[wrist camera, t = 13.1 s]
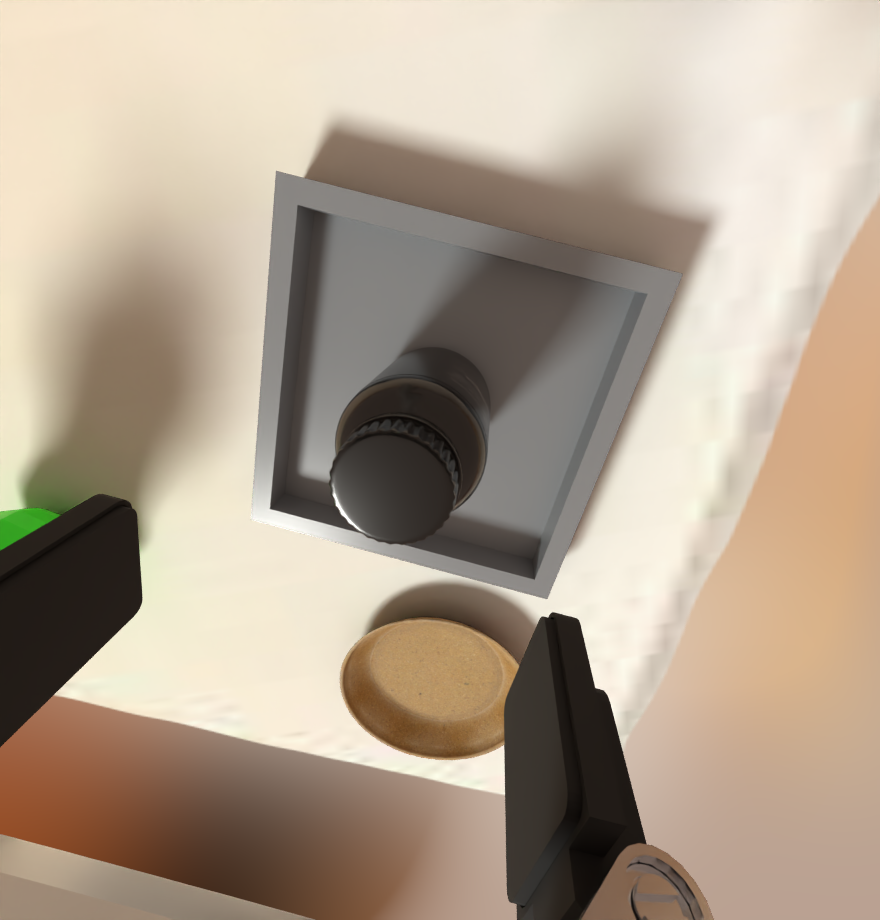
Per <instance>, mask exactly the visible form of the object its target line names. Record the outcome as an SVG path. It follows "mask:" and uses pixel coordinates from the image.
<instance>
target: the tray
mask: <svg viewBox="0 0 880 920" xmlns="http://www.w3.org/2000/svg"><path fill="white" fill-rule="evenodd" d="M682 275H683V274H682V273H678V272H674V271H670V270H666V269H662V268H658V267H654V266H650V265H646V264H642V263H639V262H635V261H631V260H627V259H623V258H619V257H615V256H611V255H607V254H603V253H599V252H595V251H591V250H587V249H583V248H579V247H575V246H571V245H567V244H563V243H559V242H555V241H551V240H548V239H544V238H540V237H536V236H532V235H528V234H524V233H520V232H516V231H512V230H508V229H504V228H500V227H496V226H492V225H488V224H484V223H480V222H476V221H472V220H468V219H464V218H460V217H457V216H453V215H449V214H445V213H441V212H437V211H433V210H429V209H425V208H421V207H417V206H413V205H409V204H405V203H401V202H397V201H393V200H389V199H385V198H381V197H377V196H373V195H369V194H366V193H362V192H358V191H354V190H350V189H346V188H342V187H338V186H334V185H330V184H326V183H322V182H318V181H314V180H310V179H306V178H302V177H298V176H294V175H290V174H286V173H282V172H278V171H276V179H275V193H274V207H273V221H272V234H271V248H270V262H269V276H268V290H267V303H266V317H265V331H264V345H263V359H262V372H261V386H260V400H259V414H258V428H257V441H256V455H255V469H254V483H253V497H252V510H251V520H253V521H257V522H261V523H265V524H268V525H272V526H276V527H279V528H283V529H287V530H291V531H294V532H298V533H302V534H306V535H309V536H313V537H317V538H321V539H324V540H328V541H332V542H335V543H339V544H343V545H347V546H350V547H354V548H358V549H362V550H365V551H369V552H373V553H377V554H380V555H384V556H388V557H391V558H395V559H399V560H403V561H406V562H410V563H414V564H418V565H421V566H425V567H429V568H433V569H436V570H440V571H444V572H447V573H451V574H455V575H459V576H462V577H466V578H470V579H474V580H477V581H481V582H485V583H489V584H492V585H496V586H500V587H503V588H507V589H511V590H515V591H518V592H522V593H526V594H530V595H533V596H537V597H541V598H545V599H547V598H548V596H549V593H550V591H551V589H552V586H553V584H554V582H555V579H556V577H557V574H558V572H559V570H560V567H561V565H562V562H563V560H564V558H565V555H566V553H567V550H568V548H569V546H570V543H571V541H572V538H573V536H574V534H575V531H576V529H577V526H578V524H579V522H580V519H581V517H582V514H583V512H584V510H585V507H586V505H587V503H588V500H589V498H590V495H591V493H592V491H593V488H594V486H595V483H596V481H597V479H598V476H599V474H600V471H601V469H602V467H603V464H604V462H605V459H606V457H607V455H608V452H609V450H610V447H611V445H612V443H613V440H614V438H615V435H616V433H617V431H618V428H619V426H620V424H621V421H622V419H623V416H624V414H625V412H626V409H627V407H628V404H629V402H630V400H631V397H632V395H633V392H634V390H635V388H636V385H637V383H638V380H639V378H640V376H641V373H642V371H643V368H644V366H645V364H646V361H647V359H648V356H649V354H650V352H651V349H652V347H653V345H654V342H655V340H656V337H657V335H658V333H659V330H660V328H661V325H662V323H663V321H664V318H665V316H666V313H667V311H668V309H669V306H670V304H671V301H672V299H673V297H674V294H675V292H676V289H677V287H678V285H679V282H680V280H681V277H682ZM425 347H440V348H445V349H449V350H452V351H455V352H457V353H459V354H461V355H462V356H464V357H466V358H467V359H468V360H470V361H471V362H472V363H473V364H474V365H475V366H476V367H477V368H478V370H479V371H480V372H481V374H482V376H483V377H484V379H485V381H486V384H487V387H488V390H489V394H490V401H491V413H490V427H489V441H488V455H487V462H486V467H485V471H484V474H483V477H482V479H481V482H480V484H479V485H478V487H477V489H476V490H475V492H474V493H473V494H472V496H471V497H470V498H469V499H468V500H467V501H466V502H465V503H464V504H463V505H461V506H460V507H459V508H457V509H456V510H454V511H452V512H451V515H450V517H449V519H448V520H446V521H445V522H444V525H443V527H442V528H440V529H438V530H436V532H435V534H434V535H431V536H427V538H426V539H425V540H420V541H416V542H415V543H413V544H411V543H406V544H404V545H399V544H391V545H390V544H387V543H385V542H377V541H376V540H374V539H370V538H367V537H366V536H364V535H363V534H361V533H359V532H357V531H356V530H355V529H354V527H352V526H350V525H348V524H347V522H346V520H345V519H344V518H343V517H342V516H340V513H339V510H338V509H337V508H336V507H335V506H334V499H333V498H332V496H331V495H330V493H331V488H330V486H329V480H330V474H329V471H330V469H331V468H332V463H333V459H334V458H335V457H336V453H335V436H336V430H337V426H338V423H339V420H340V417H341V415H342V413H343V411H344V410H345V408H346V406H347V405H348V404H349V402H350V401H351V400H352V399H353V397H354V396H355V395H356V394H357V393H358V392H359V391H360V390H362V389H363V388H364V387H365V386H366V385H367V384H369V383H370V382H371V381H372V380H373V379H374V378H375V377H377V376H378V375H379V374H380V373H381V372H382V371H383V370H385V369H386V368H387V367H388V366H389V365H390V364H392V363H393V362H394V361H395V360H397V359H398V358H399V357H401V356H402V355H404V354H406V353H408V352H410V351H413V350H416V349H419V348H425Z"/></svg>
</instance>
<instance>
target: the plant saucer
mask: <svg viewBox="0 0 880 920" xmlns="http://www.w3.org/2000/svg"><path fill="white" fill-rule="evenodd" d="M518 668H519V664H518V663H517V661H516V660H515V659H514V658H513V656H512V655H511V654H510V653H509V652H508V651H507V650H506V649H505V648H503V647H502V646H501V645H500V644H499V643H497V642H496V641H495V640H493V639H492V638H490V637H489V636H488V635H486V634H484V633H482V632H480V631H479V630H477V629H475V628H472V627H470V626H468V625H465V624H462V623H459V622H456V621H452V620H448V619H442V618H433V617H419V618H410V619H404V620H399V621H396V622H392V623H389V624H386V625H384V626H382V627H379V628H377V629H375V630H373V631H371V632H370V633H368V634H366V635H365V636H363V637H362V638H361V639H360V640H359V641H357V643H355V645H354V646H353V647H352V648H351V649H350V651H349V652H348V654H347V655H346V657H345V659H344V662H343V664H342V667H341V672H340V688H341V693H342V697H343V699H344V702H345V704H346V707H347V708H348V710H349V712H350V714H351V715H352V717H353V718H354V719H355V720H356V721H357V722H358V724H359V725H360V726H361V727H362V728H363V729H364V730H365V731H367V732H368V733H369V734H370V735H372V736H373V737H375V738H376V739H377V740H379V741H380V742H382V743H384V744H386V745H387V746H390V747H392V748H394V749H396V750H398V751H401V752H403V753H406V754H409V755H414V756H417V757H421V758H428V759H436V760H459V759H467V758H473V757H477V756H481V755H484V754H487V753H489V752H492V751H494V750H496V749H498V748H500V747H501V746H503V745H504V706H505V700H506V697H507V694H508V692H509V689H510V687H511V685H512V682H513V680H514V678H515V675H516V673H517V671H518Z"/></svg>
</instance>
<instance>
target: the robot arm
mask: <svg viewBox="0 0 880 920" xmlns="http://www.w3.org/2000/svg"><path fill="white" fill-rule="evenodd" d="M141 604H142V584H141V569H140V554H139V539H138V524H137V514H136V511H135V510H134V509H132V506H131V504H130V502H129V501H126V500H123V499H119V498H116V497H112V496H108V495H104V494H98V495H95V496H93V497H91V498H90V499H88V500H86V501H84V502H83V503H81V504H79V505H77V506H76V507H74V508H72V509H71V510H69V511H67V512H65V513H64V514H62V515H60V516H59V517H57V518H55V519H53V520H52V521H50V522H48V523H47V524H45V525H43V526H41V527H40V528H38V529H36V530H35V531H33V532H31V533H29V534H28V535H26V536H24V537H23V538H21V539H19V540H17V541H16V542H14V543H12V544H11V545H9V546H7V547H5V548H4V549H2V550H0V747H1V746H2V745H3V744H4V743H5V742H6V741H7V740H8V739H9V738H10V737H11V736H12V735H13V734H14V733H15V732H16V731H17V730H18V729H19V728H20V727H21V726H22V725H23V724H24V723H25V722H26V721H27V720H28V719H29V718H31V716H33V715H34V713H36V712H37V711H38V710H39V709H40V708H41V707H42V706H43V705H44V704H45V703H46V702H47V701H48V700H49V699H50V698H51V697H52V696H53V695H54V694H55V693H56V692H57V691H58V690H59V689H60V688H61V687H62V686H63V685H64V684H65V683H66V682H67V681H68V680H69V679H70V678H71V677H72V676H73V675H74V674H75V673H76V672H78V671H79V670H80V669H81V668H82V667H83V666H84V665H85V664H86V663H87V662H88V661H89V660H90V659H91V658H92V657H93V656H94V655H95V654H96V653H97V652H98V651H99V650H100V649H101V648H102V647H103V646H104V645H105V644H106V643H107V642H108V641H109V640H110V639H111V638H112V637H113V636H114V635H115V634H116V633H117V632H118V631H119V630H120V629H121V628H122V627H123V626H124V625H126V624H127V623H128V622H129V621H130V620H131V619H132V618H133V617H134V616H135V614H136V613H137V612H138V610H139V609H140V606H141ZM504 749H505V806H506V807H505V808H506V863H507V895H508V899H509V901H510V902H511V903H515V904H517V920H714V918H713V916H712V913H711V911H710V908H709V906H708V903H707V900H706V899H705V897H704V895H703V894H702V892H701V890H700V889H699V887H698V885H697V884H696V882H695V881H694V879H693V878H692V877H691V876H690V875H689V873H688V872H687V871H686V870H685V869H684V867H683V866H682V865H681V864H680V863H678V862H677V861H676V860H675V859H674V858H672V857H671V856H670V855H669V854H668V853H666V852H664V851H662V850H660V849H658V848H656V847H654V846H652V845H647V844H646V840H645V836H644V832H643V828H642V825H641V821H640V817H639V813H638V809H637V805H636V801H635V798H634V794H633V790H632V786H631V782H630V778H629V774H628V771H627V767H626V763H625V759H624V755H623V751H622V747H621V743H620V739H619V735H618V732H617V728H616V724H615V720H614V716H613V712H612V708H611V704H610V701H609V698H608V696H607V694H606V693H605V692H604V691H603V690H600V689H597V688H595V686H594V681H593V677H592V673H591V668H590V664H589V660H588V655H587V651H586V647H585V642H584V638H583V634H582V629H581V625H580V622H579V620H578V619H577V618H573V617H569V616H566V615H562V614H558V613H554V612H552V613H551V614H550V615H549V617H548V618H547V617H541V618H540V620H539V622H538V624H537V627H536V629H535V631H534V634H533V636H532V638H531V641H530V643H529V645H528V648H527V650H526V652H525V654H524V657H523V659H522V661H521V664H520V666H519V668H518V671H517V673H516V675H515V678H514V680H513V682H512V685H511V687H510V689H509V692H508V694H507V697H506V700H505V706H504ZM0 920H314V919H310V918H307V917H303V916H300V915H296V914H293V913H289V912H285V911H282V910H278V909H274V908H271V907H267V906H264V905H260V904H256V903H252V902H249V901H246V900H242V899H238V898H235V897H231V896H228V895H224V894H220V893H216V892H213V891H209V890H205V889H202V888H198V887H194V886H190V885H187V884H183V883H180V882H176V881H172V880H168V879H165V878H161V877H158V876H154V875H150V874H147V873H143V872H139V871H135V870H132V869H128V868H124V867H121V866H117V865H113V864H110V863H106V862H102V861H98V860H95V859H91V858H87V857H83V856H80V855H76V854H72V853H69V852H65V851H62V850H58V849H54V848H50V847H47V846H43V845H39V844H35V843H31V842H28V841H24V840H20V839H16V838H13V837H9V836H5V835H1V834H0Z"/></svg>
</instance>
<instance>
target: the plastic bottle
mask: <svg viewBox="0 0 880 920" xmlns="http://www.w3.org/2000/svg"><path fill="white" fill-rule="evenodd" d="M59 516H60V515H59V514H56V513H53V512H51V511H49V510H46V509H40V508H29V509H19V510H10V511H1V512H0V550H2V549H4V548H5V547H7V546H9V545H11V544H12V543H14V542H16V541H17V540H19V539H21V538H23V537H24V536H26V535H28V534H29V533H31V532H33V531H35V530H36V529H38V528H40V527H41V526H43V525H45V524H47V523H48V522H50V521H52V520H53V519H55V518H57V517H59Z"/></svg>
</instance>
